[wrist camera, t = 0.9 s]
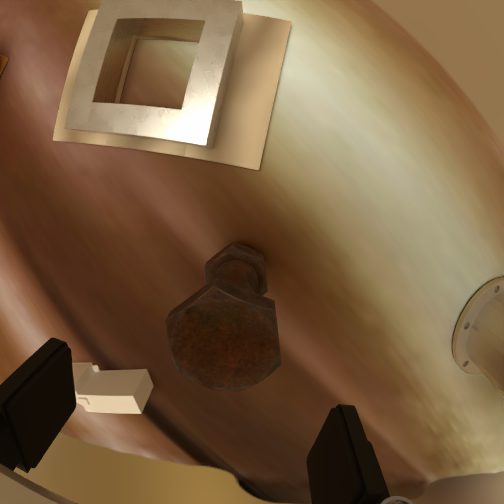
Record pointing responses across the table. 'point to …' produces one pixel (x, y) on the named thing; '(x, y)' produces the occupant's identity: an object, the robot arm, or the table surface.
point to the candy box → (3, 63)
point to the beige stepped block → (111, 389)
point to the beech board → (235, 102)
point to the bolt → (227, 324)
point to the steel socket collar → (114, 56)
